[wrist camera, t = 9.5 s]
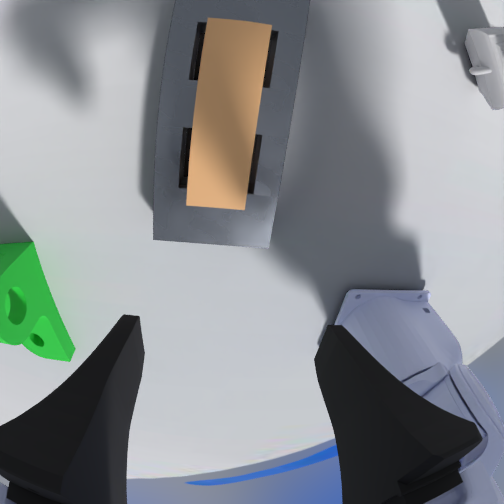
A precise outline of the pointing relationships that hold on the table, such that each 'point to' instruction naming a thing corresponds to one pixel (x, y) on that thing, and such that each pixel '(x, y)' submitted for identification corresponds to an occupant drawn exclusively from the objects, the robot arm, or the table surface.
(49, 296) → the mechanical part
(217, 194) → the tan wooden block
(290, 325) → the table surface
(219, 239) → the grey flat block
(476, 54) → the stamp
